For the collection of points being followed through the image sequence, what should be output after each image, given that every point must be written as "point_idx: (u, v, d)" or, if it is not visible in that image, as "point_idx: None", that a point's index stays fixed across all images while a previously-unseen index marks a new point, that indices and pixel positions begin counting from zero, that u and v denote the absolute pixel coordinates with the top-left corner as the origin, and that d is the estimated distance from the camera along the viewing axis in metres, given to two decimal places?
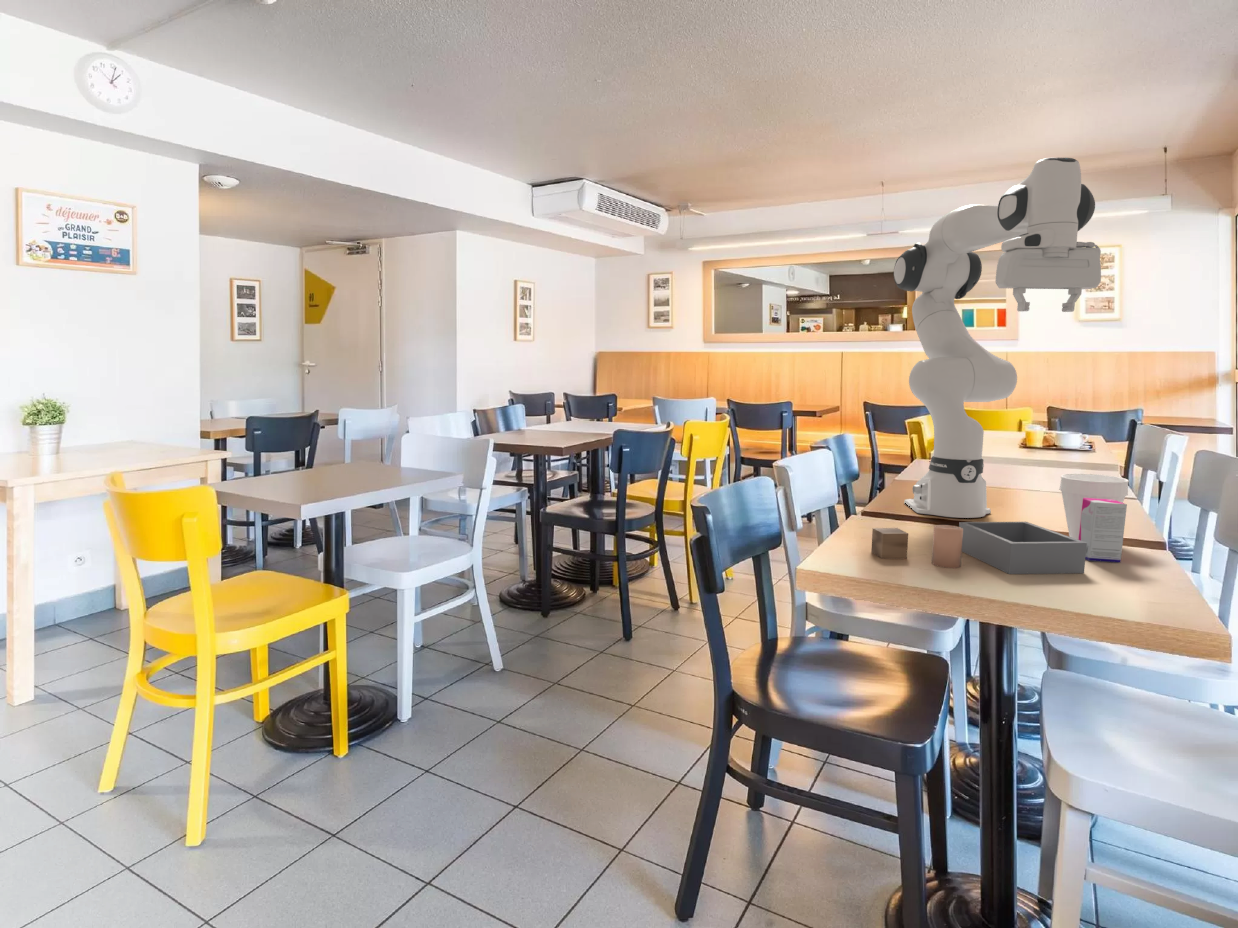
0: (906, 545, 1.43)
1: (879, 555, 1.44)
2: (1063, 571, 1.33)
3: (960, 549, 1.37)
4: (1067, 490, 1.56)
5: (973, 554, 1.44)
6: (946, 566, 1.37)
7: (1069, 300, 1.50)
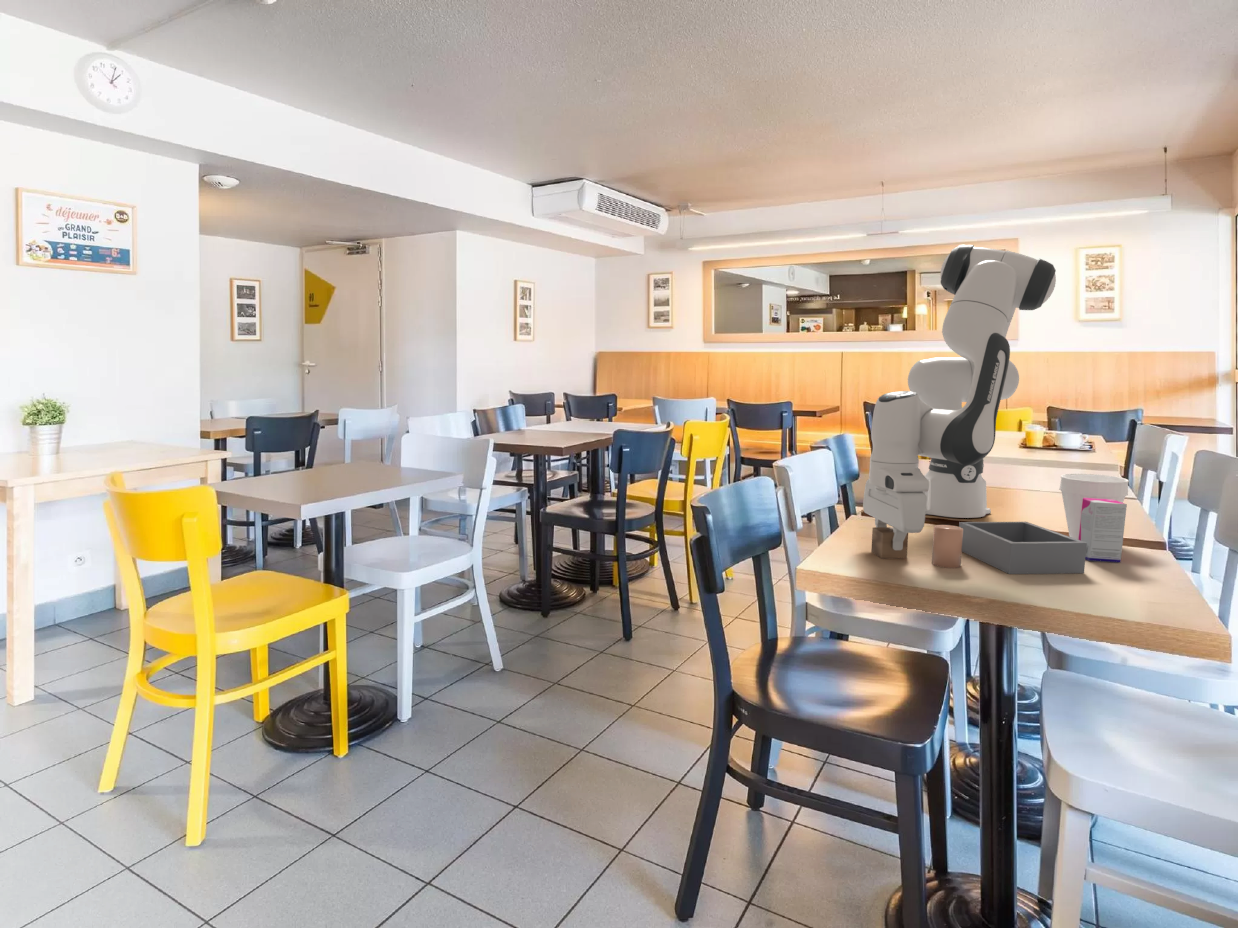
0: (906, 544, 1.43)
1: (879, 554, 1.44)
2: (1063, 571, 1.33)
3: (960, 549, 1.37)
4: (1067, 490, 1.56)
5: (973, 554, 1.44)
6: (946, 566, 1.37)
7: None
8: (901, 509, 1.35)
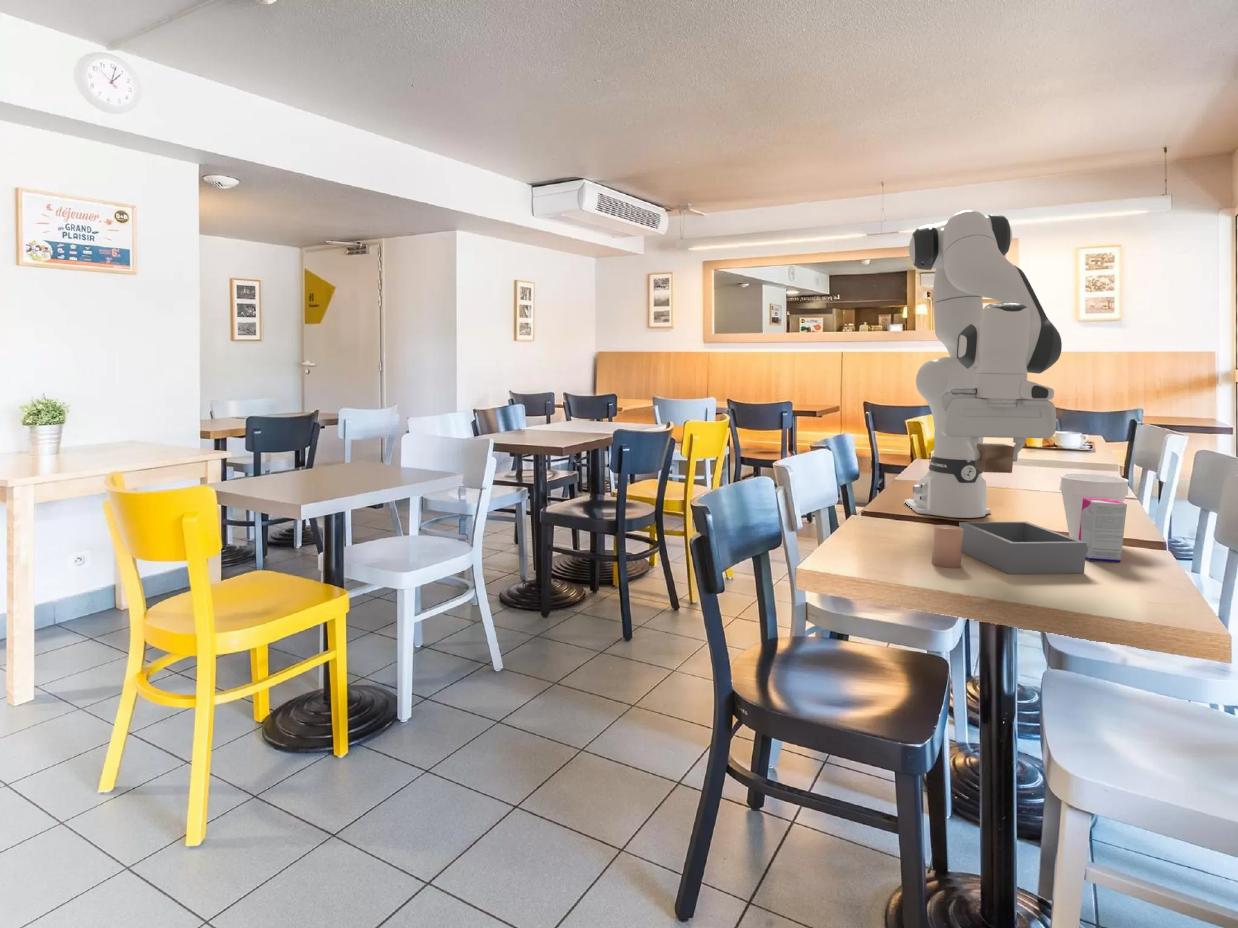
0: None
1: (1006, 470, 1.41)
2: (1063, 571, 1.33)
3: (960, 549, 1.37)
4: (1067, 490, 1.56)
5: (973, 554, 1.44)
6: (946, 566, 1.37)
7: None
8: (1054, 415, 1.39)
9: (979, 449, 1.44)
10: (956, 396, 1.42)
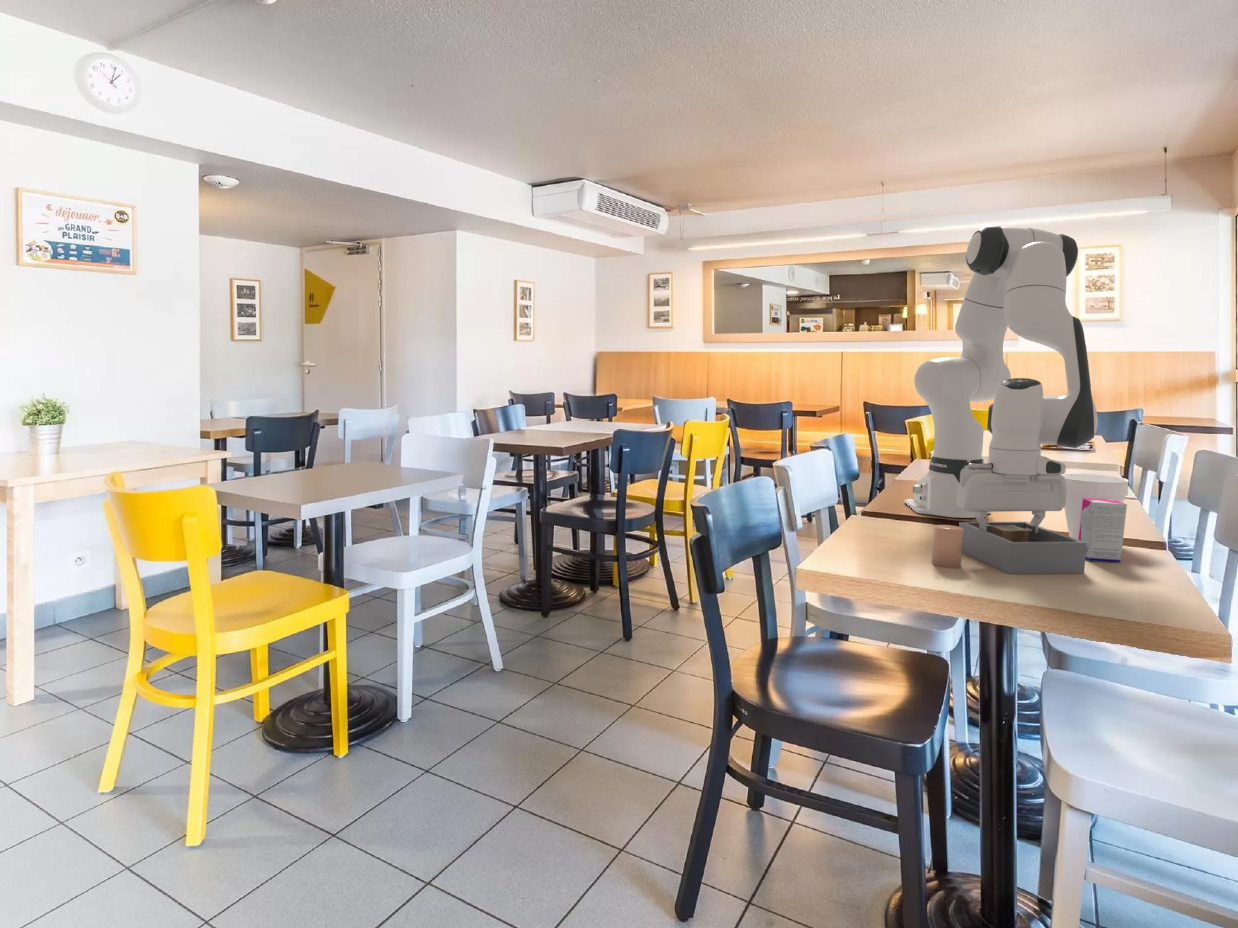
0: None
1: None
2: (1063, 571, 1.33)
3: (960, 549, 1.37)
4: (1067, 490, 1.56)
5: (973, 554, 1.44)
6: (946, 566, 1.37)
7: None
8: (1065, 489, 1.42)
9: (993, 532, 1.45)
10: (974, 471, 1.42)
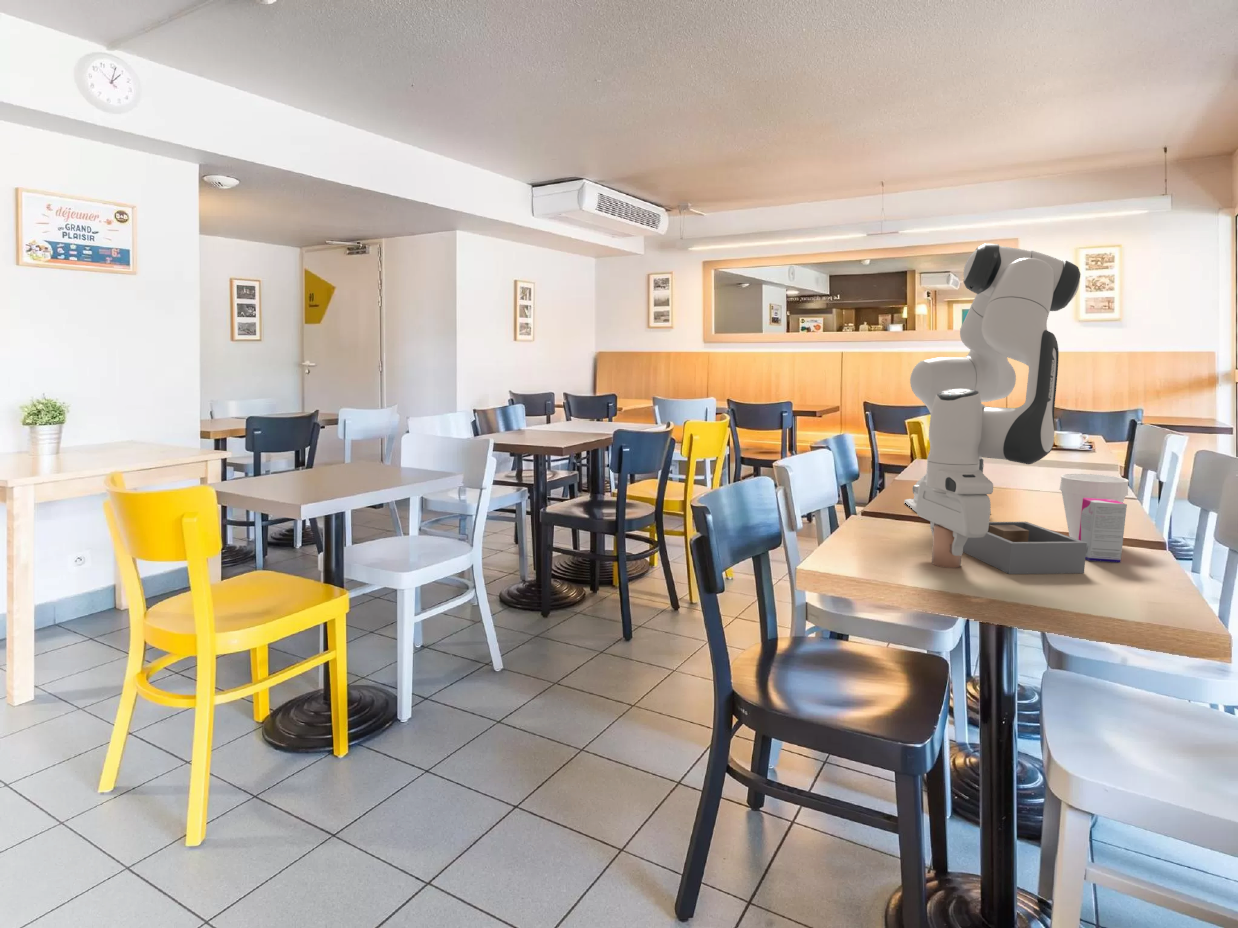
0: None
1: None
2: (1063, 571, 1.33)
3: None
4: (1067, 490, 1.56)
5: (973, 554, 1.44)
6: (946, 566, 1.37)
7: None
8: (964, 513, 1.28)
9: (993, 532, 1.45)
10: None
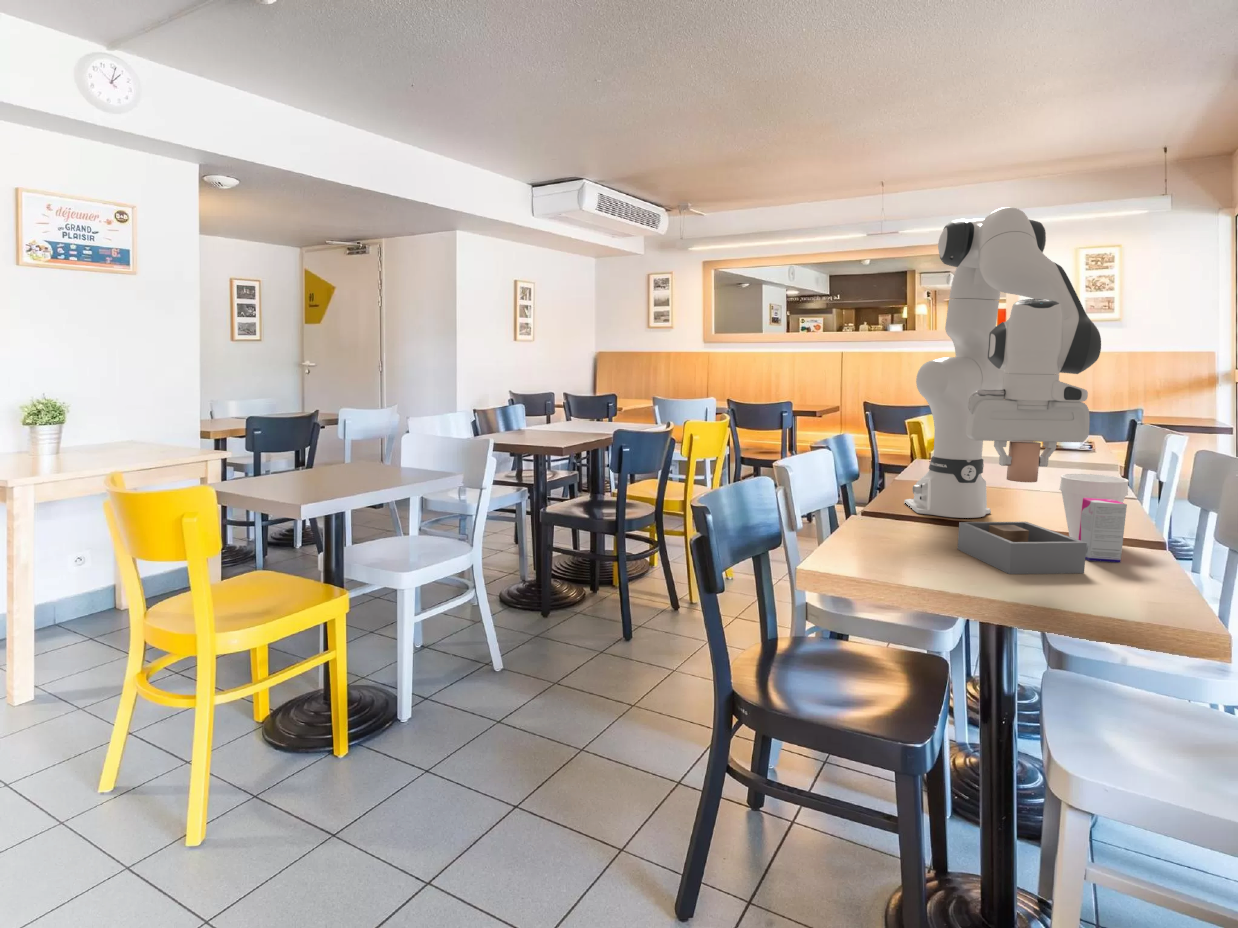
0: None
1: None
2: (1063, 571, 1.33)
3: None
4: (1067, 490, 1.56)
5: (973, 554, 1.44)
6: None
7: None
8: (1087, 418, 1.31)
9: (993, 532, 1.45)
10: (983, 398, 1.34)
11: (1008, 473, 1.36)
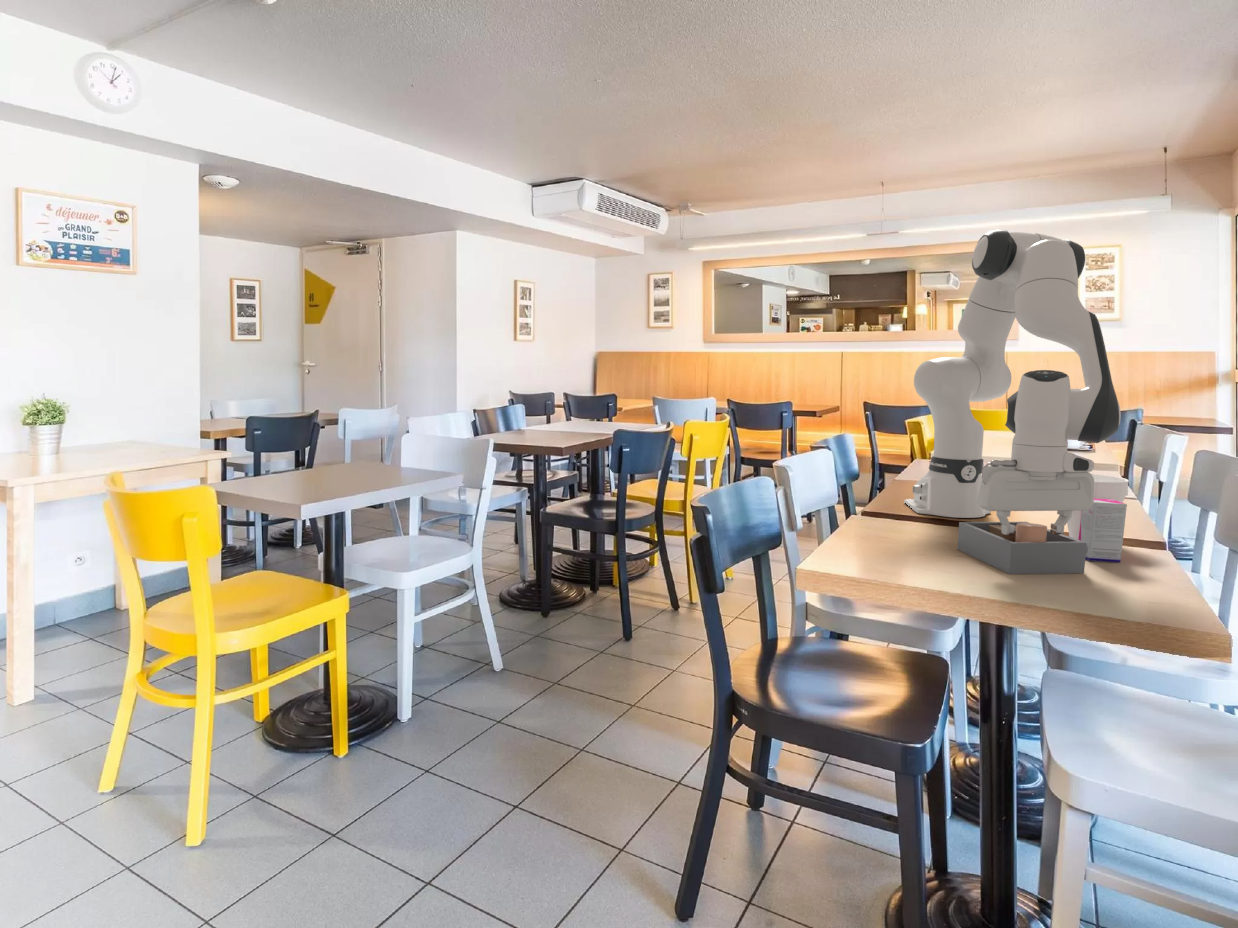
0: None
1: None
2: (1063, 571, 1.33)
3: None
4: None
5: (973, 554, 1.44)
6: None
7: None
8: (1093, 487, 1.34)
9: (993, 532, 1.45)
10: (996, 468, 1.34)
11: None
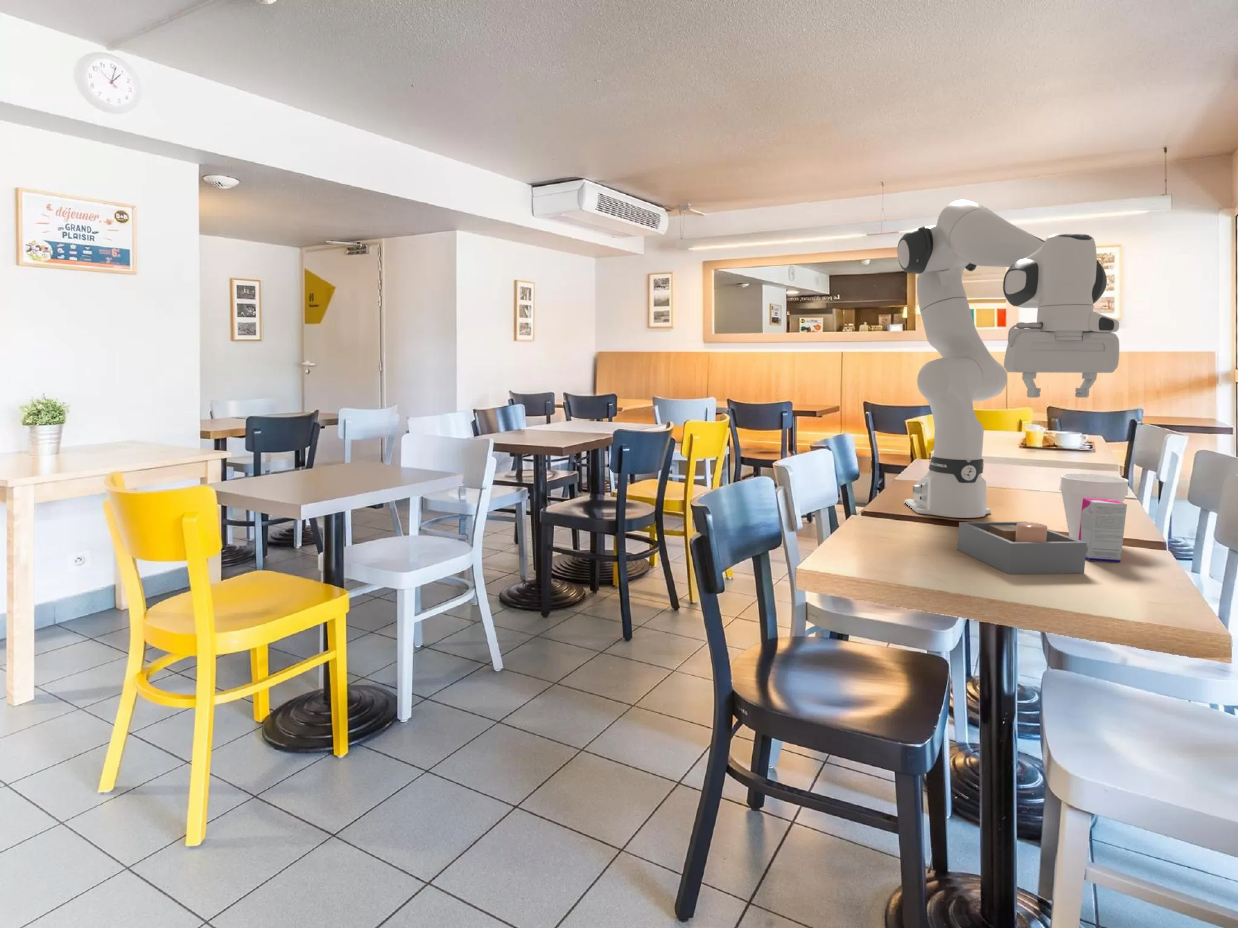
0: None
1: None
2: (1063, 571, 1.33)
3: None
4: (1067, 490, 1.56)
5: (973, 554, 1.44)
6: None
7: None
8: (1117, 349, 1.36)
9: (993, 532, 1.45)
10: (1022, 330, 1.36)
11: None
